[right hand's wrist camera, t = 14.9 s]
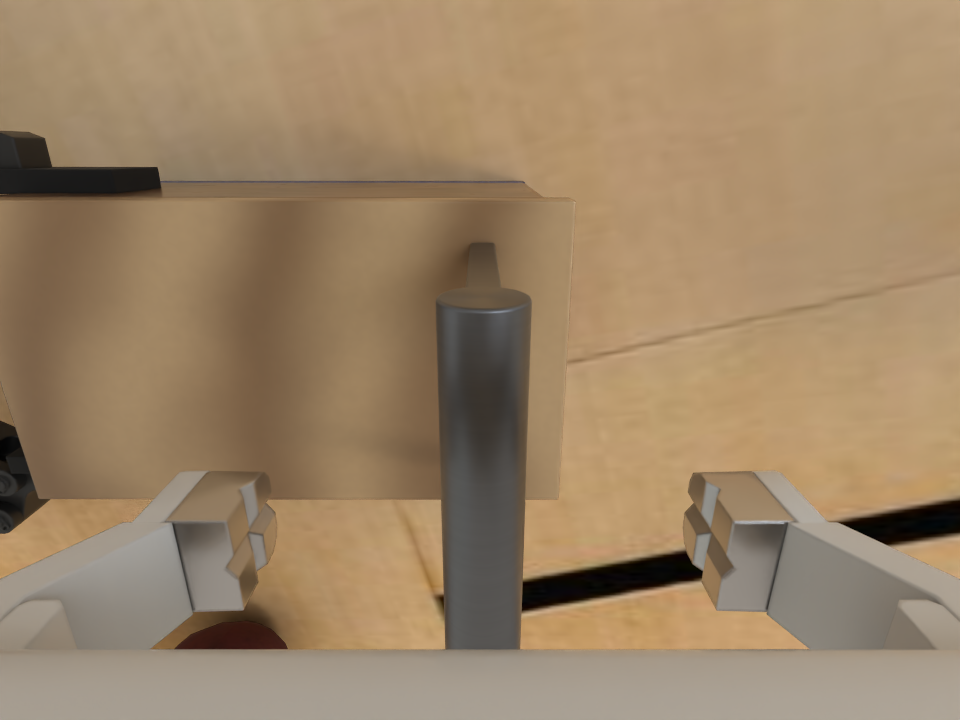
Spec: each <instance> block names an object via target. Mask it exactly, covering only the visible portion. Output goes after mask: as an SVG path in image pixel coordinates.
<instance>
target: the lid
mask: <svg viewBox="0 0 960 720" xmlns="http://www.w3.org/2000/svg"><path fill="white" fill-rule="evenodd" d="M575 214H576V201H574V200H572V199H570V198H112V197H0V383H1V386H2V389H3V392H4V395H5V398H6V401H7V404H8V407H9V410H10V413H11V416H12V419H13V422H14V425H15V428H16V431H17V434H18V437H19V440H20V443H21V446H22V449H23V452H24V455H25V458H26V461H27V464H28V467H29V470H30V473H31V476H32V479H33V483H34V486H35V489H36V492H37V495H38V498H39V499H154V498H155V497H156V496H157V495H158V494H159V493H160V492H161V491H162V490H163V489H164V488H165V487H166V486H167V485H168V484H169V483H170V482H171V481H172V480H173V478H174V477H175V476H176V475H177V474H178V473H179V472H183V471H206V470H209V471H246V472H265V473H266V474H267V475H268V476H269V479H270V484H271V489H272V493H271V495H270V497H269V498H268V499H433V500H441V511H442V545H443V580H444V615H445V649H520V637H521V608H522V579H523V550H524V521H525V500H557V499H558V498H559V484H560V467H561V450H562V434H563V417H564V400H565V383H566V366H567V349H568V332H569V316H570V299H571V282H572V265H573V248H574V231H575Z"/></svg>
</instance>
